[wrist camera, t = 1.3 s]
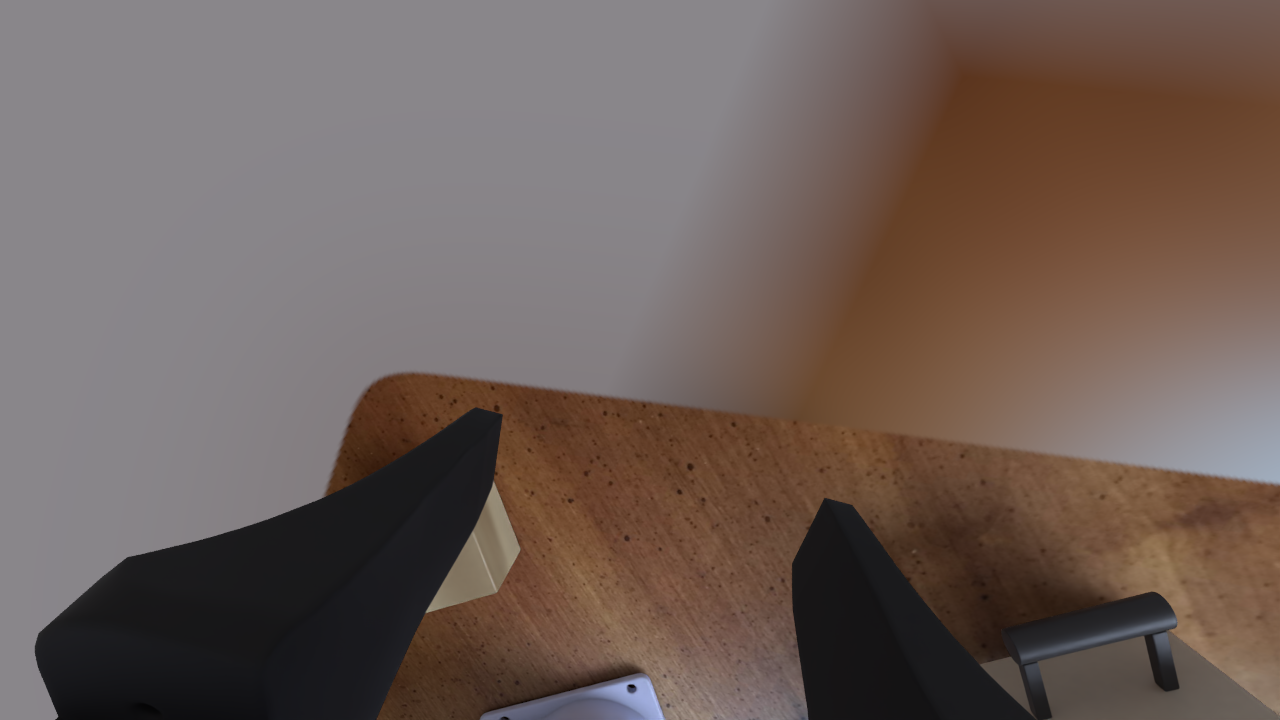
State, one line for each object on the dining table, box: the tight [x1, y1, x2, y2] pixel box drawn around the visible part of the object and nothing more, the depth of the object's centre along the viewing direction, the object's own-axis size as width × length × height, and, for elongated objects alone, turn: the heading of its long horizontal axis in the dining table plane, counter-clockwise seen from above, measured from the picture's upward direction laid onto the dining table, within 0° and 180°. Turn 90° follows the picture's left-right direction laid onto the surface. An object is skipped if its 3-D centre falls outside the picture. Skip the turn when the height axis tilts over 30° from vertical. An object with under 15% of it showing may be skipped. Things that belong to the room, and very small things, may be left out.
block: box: [426, 480, 520, 613], centre depth 29 cm, size 4×4×4 cm
